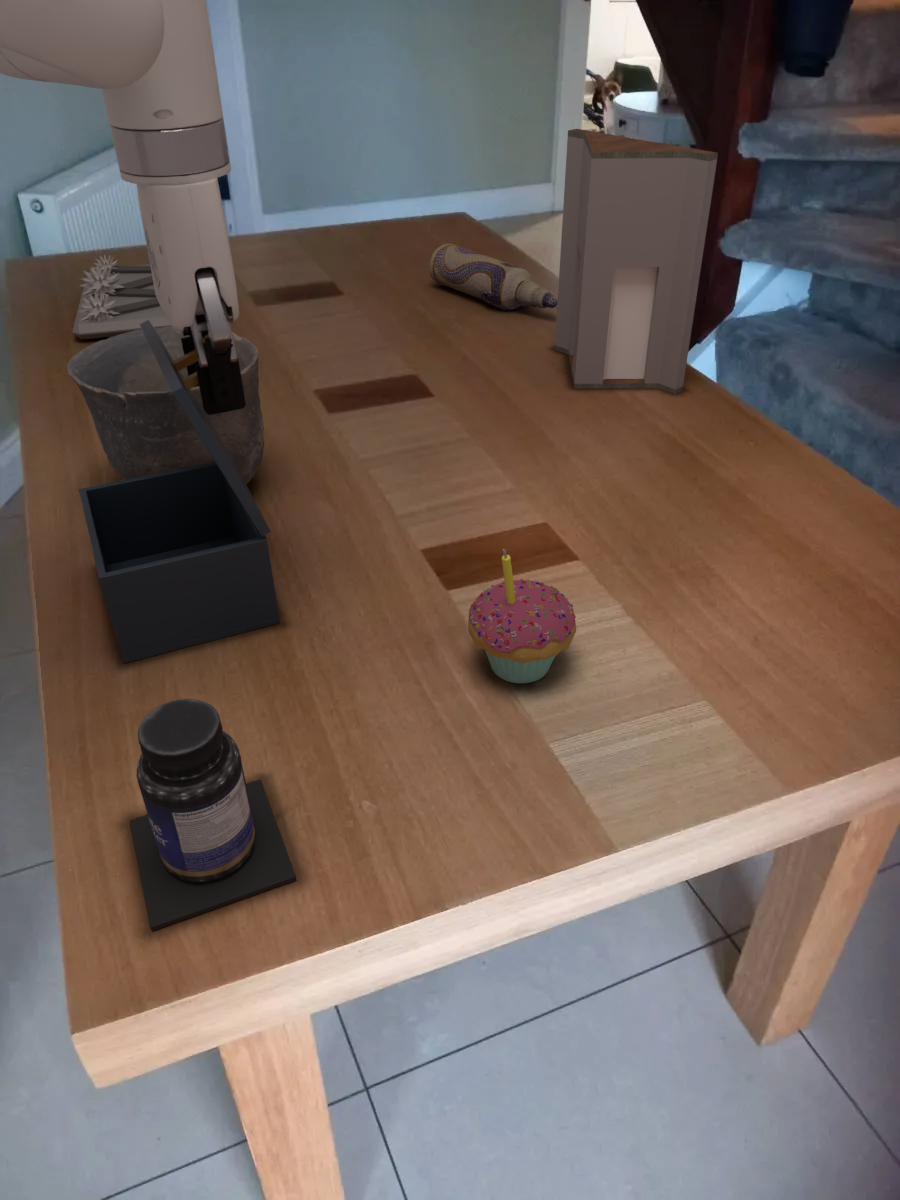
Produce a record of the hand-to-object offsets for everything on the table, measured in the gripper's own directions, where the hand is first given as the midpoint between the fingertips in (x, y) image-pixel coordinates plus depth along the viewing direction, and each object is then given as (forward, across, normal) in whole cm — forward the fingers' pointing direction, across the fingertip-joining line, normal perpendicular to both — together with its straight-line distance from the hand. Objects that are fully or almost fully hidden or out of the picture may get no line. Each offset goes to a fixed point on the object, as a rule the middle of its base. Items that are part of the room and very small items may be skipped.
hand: (217, 393), depth 74 cm
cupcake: (+19, +21, +17) cm, 33 cm away
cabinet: (+19, -27, +53) cm, 63 cm away
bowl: (+19, -19, -2) cm, 27 cm away
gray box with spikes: (+19, -82, +4) cm, 84 cm away
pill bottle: (+18, +30, -10) cm, 36 cm away
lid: (+3, 0, -2) cm, 3 cm away
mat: (+18, +30, -10) cm, 36 cm away
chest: (+18, 0, -6) cm, 19 cm away
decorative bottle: (+20, -60, +53) cm, 82 cm away
